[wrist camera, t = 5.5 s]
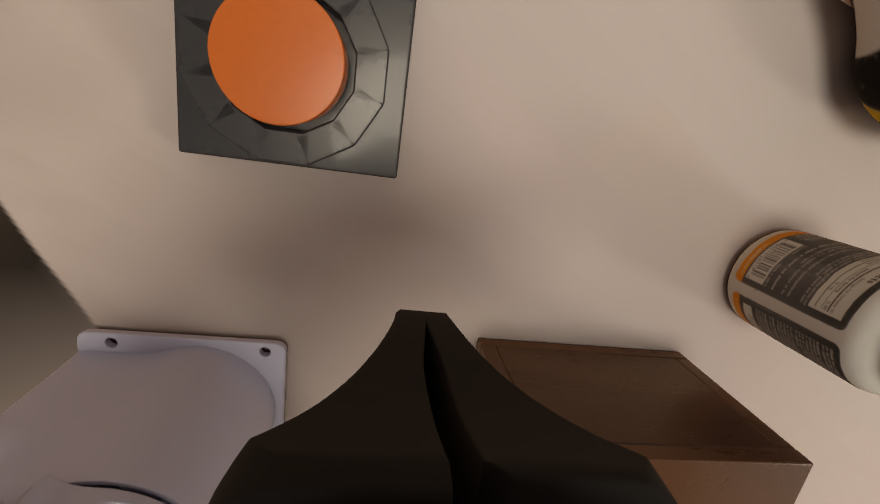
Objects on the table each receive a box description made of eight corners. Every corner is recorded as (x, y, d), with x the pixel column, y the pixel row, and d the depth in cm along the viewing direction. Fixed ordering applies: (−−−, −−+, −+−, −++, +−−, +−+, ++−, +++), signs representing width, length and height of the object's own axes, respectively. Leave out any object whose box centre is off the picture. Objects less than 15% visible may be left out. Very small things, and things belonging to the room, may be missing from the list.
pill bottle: (810, 308, 26) (1050, 422, 17) (719, 330, 26) (912, 458, 16) (821, 217, 24) (1098, 287, 15) (722, 238, 24) (942, 324, 14)
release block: (190, 149, 19) (156, 156, 16) (184, -63, 17) (144, -97, 14) (395, 174, 21) (397, 185, 18) (417, -17, 18) (423, -40, 15)
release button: (225, 115, 17) (207, 115, 15) (224, -16, 15) (205, -32, 14) (344, 131, 17) (339, 134, 16) (353, 7, 16) (349, -5, 14)
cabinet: (618, 527, 30) (706, 685, 22) (442, 528, 28) (466, 700, 20) (679, 351, 26) (814, 463, 18) (478, 337, 24) (526, 456, 16)
